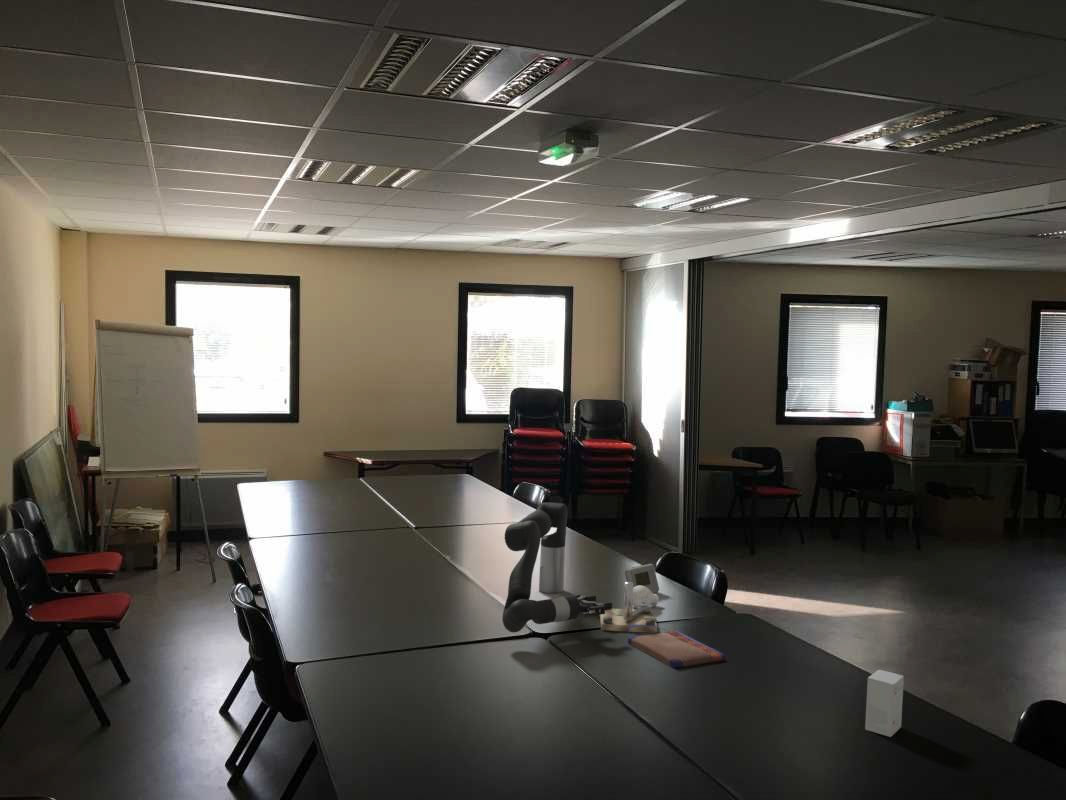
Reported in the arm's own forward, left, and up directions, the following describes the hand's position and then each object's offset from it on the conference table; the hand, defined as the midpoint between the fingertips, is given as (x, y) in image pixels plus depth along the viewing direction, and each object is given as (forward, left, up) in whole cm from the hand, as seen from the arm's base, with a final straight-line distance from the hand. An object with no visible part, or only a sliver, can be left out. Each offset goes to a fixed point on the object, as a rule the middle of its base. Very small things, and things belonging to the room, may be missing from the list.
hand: (603, 602), depth 275 cm
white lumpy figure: (+17, +30, -10) cm, 36 cm away
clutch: (+21, -13, -11) cm, 27 cm away
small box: (+66, -64, -10) cm, 92 cm away
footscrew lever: (+12, +12, -7) cm, 18 cm away
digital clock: (+17, +47, -10) cm, 51 cm away
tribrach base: (+9, +11, -10) cm, 17 cm away
